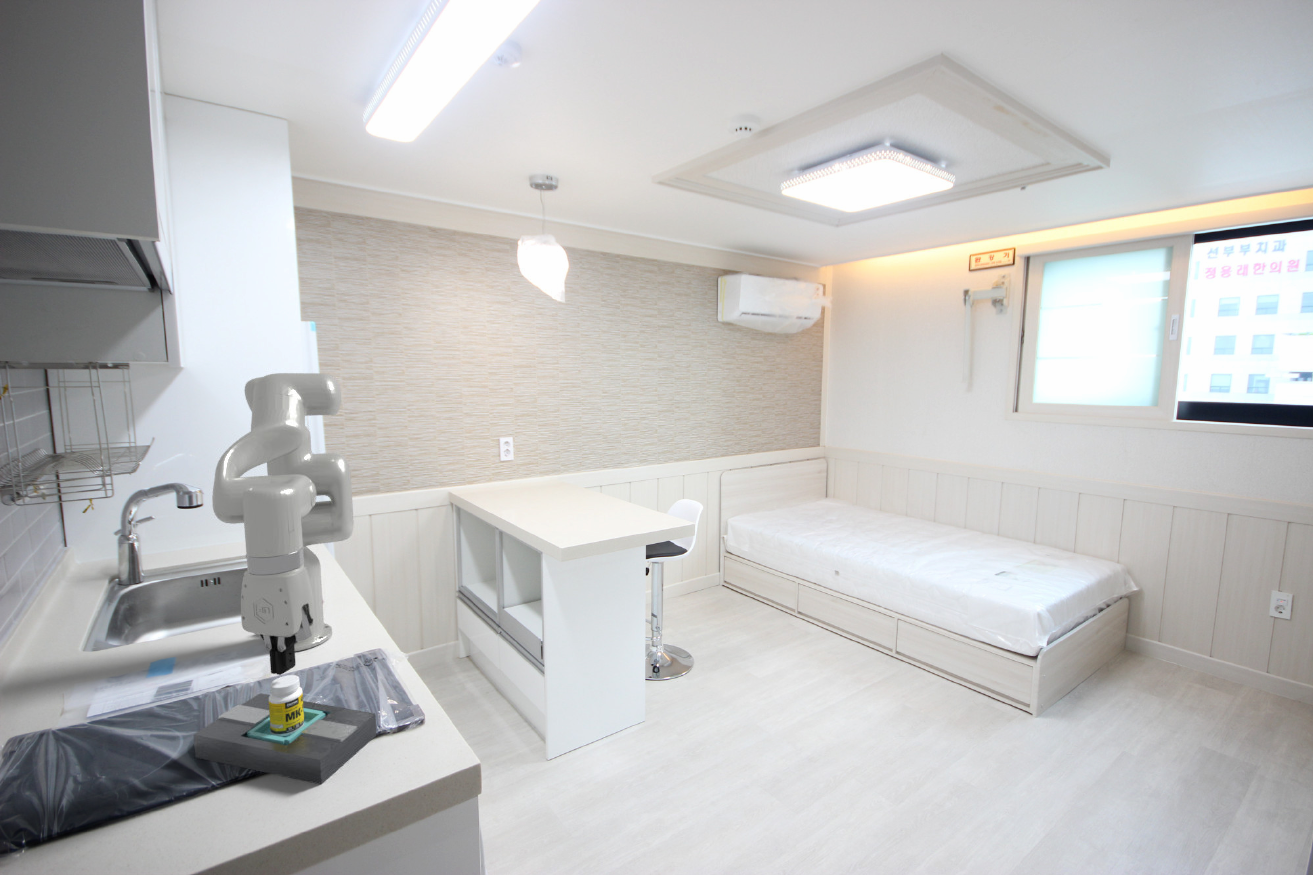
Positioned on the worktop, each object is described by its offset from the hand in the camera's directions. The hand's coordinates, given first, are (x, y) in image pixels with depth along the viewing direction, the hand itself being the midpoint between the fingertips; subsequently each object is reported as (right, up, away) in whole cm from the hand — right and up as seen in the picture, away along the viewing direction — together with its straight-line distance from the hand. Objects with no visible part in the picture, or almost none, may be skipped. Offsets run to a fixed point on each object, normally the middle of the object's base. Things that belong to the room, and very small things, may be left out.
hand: (283, 669), depth 95 cm
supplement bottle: (0, -11, +2) cm, 11 cm away
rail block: (0, -13, +2) cm, 14 cm away
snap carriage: (0, -12, +2) cm, 13 cm away
